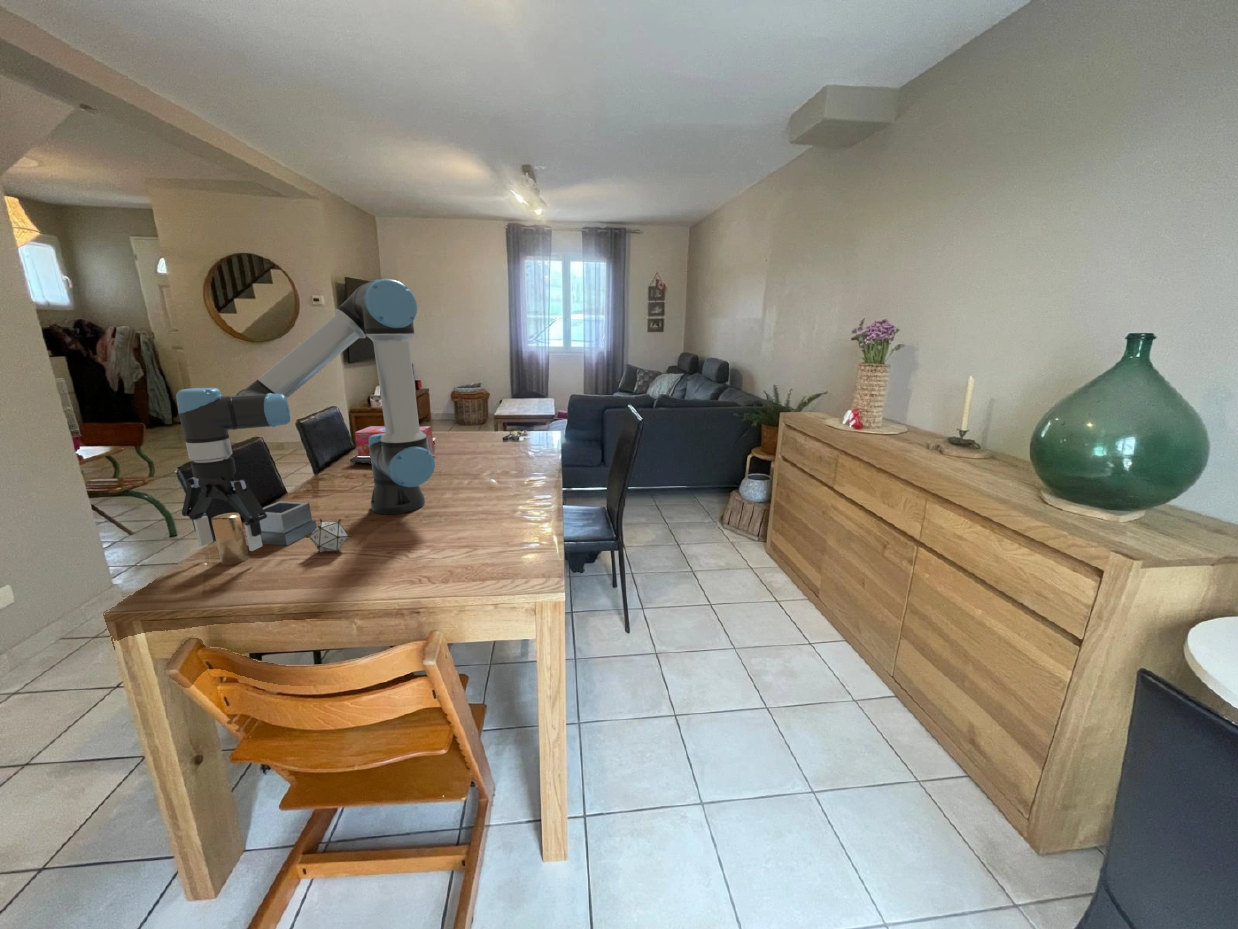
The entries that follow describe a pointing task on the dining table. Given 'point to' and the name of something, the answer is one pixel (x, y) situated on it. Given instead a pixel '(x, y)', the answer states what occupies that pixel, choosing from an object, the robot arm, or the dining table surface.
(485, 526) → the dining table surface
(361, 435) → the box
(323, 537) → the game die
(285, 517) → the open rectangular container
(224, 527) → the gold metallic cylinder
